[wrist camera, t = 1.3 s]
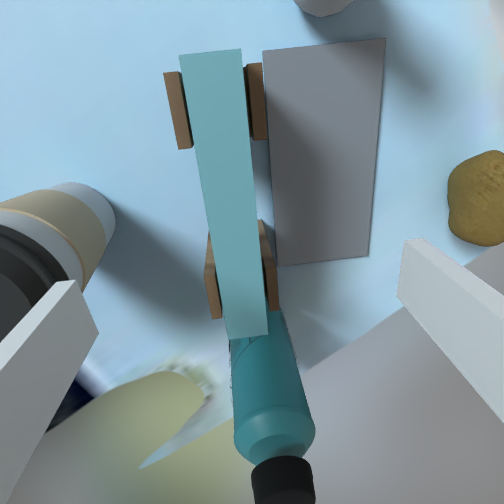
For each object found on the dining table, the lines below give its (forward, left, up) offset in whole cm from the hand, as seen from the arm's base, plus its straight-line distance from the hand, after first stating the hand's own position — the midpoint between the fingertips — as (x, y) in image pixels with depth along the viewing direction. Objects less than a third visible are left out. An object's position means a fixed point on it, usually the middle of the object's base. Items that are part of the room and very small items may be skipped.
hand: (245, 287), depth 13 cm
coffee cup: (-15, -2, -19) cm, 25 cm away
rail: (0, 0, -11) cm, 11 cm away
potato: (+23, -4, -19) cm, 30 cm away
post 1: (0, +6, -19) cm, 20 cm away
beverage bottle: (+1, -16, -19) cm, 25 cm away
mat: (+9, 0, -19) cm, 21 cm away
